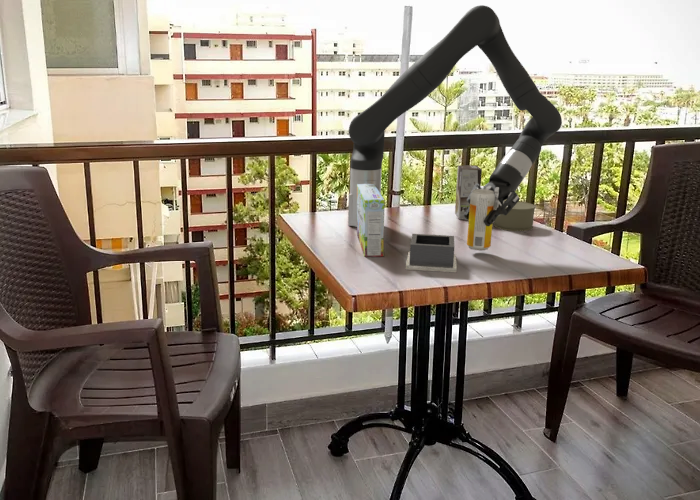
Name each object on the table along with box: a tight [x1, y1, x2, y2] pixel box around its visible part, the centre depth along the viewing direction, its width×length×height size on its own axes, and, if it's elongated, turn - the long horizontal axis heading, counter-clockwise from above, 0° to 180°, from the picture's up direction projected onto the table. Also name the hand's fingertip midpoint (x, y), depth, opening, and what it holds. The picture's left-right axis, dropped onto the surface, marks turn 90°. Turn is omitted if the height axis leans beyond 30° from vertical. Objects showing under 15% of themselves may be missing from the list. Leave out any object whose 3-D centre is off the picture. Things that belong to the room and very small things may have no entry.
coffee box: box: [454, 164, 483, 220], centre depth 210 cm, size 9×6×16 cm
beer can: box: [466, 189, 495, 251], centre depth 169 cm, size 6×6×15 cm
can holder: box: [405, 233, 458, 273], centre depth 162 cm, size 12×12×6 cm
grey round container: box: [493, 200, 536, 232], centre depth 200 cm, size 12×12×7 cm
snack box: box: [356, 184, 386, 258], centre depth 175 cm, size 21×6×15 cm, turn 5°
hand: (476, 221), depth 168 cm, fingers closed on beer can, 6 cm apart
